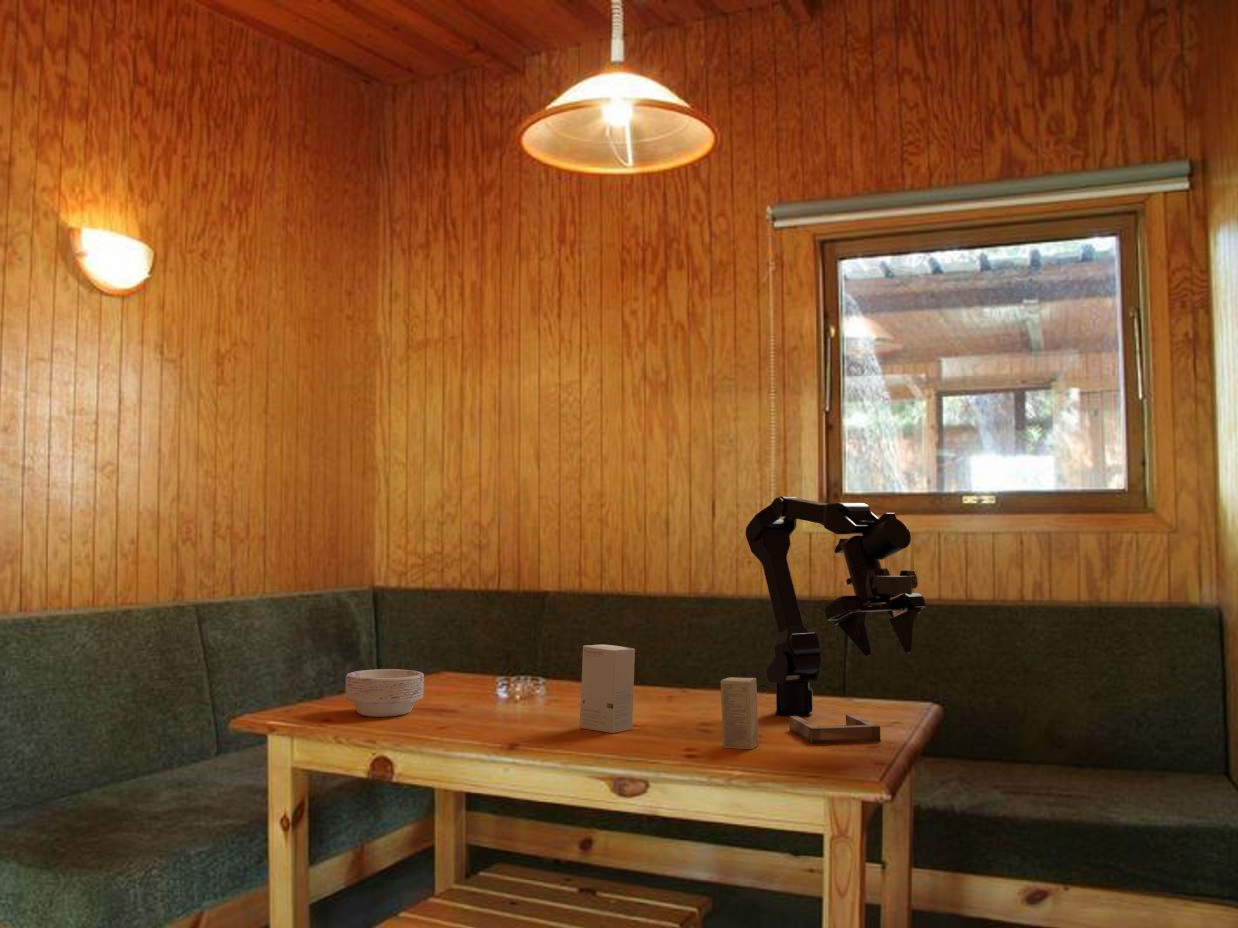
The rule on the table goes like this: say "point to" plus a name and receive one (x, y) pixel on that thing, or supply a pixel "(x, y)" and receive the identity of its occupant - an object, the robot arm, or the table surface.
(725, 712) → the box
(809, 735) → the walnut u rest
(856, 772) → the table surface
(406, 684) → the paper bowls
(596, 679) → the skincare box
